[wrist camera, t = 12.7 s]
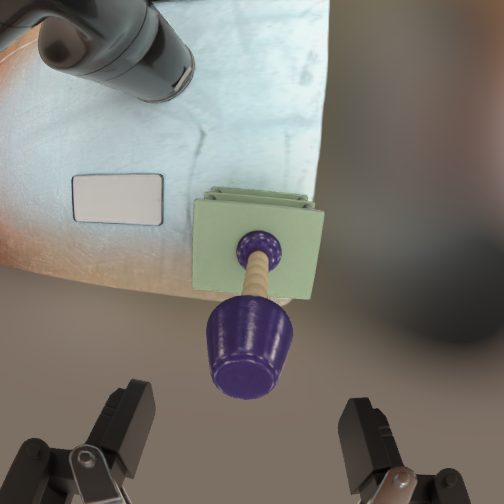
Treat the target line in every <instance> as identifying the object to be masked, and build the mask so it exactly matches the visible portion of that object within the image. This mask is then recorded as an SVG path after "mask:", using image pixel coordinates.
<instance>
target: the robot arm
mask: <svg viewBox="0 0 504 504" xmlns="http://www.w3.org/2000/svg"><path fill="white" fill-rule="evenodd" d="M42 21H43V22H42ZM41 22H42V25H41V28H40V32H39V38H38V50H39V54H40V56H41V58H42V60H43V61H44V63H45V64H46V65H48V66H49V67H50V68H52V69H54V70H57V71H60V72H63V73H67V74H70V75H73V76H76V77H79V78H83V79H86V80H89V81H92V82H95V83H98V84H101V85H104V86H107V87H110V88H113V89H115V90H118V91H121V92H124V93H126V94H129V95H131V96H134V97H136V98H138V99H140V100H142V101H145V102H149V103H161V102H165V101H168V100H170V99H172V98H174V97H176V96H177V95H179V94H180V93H181V92H182V91H183V90H184V89H185V88H186V87H187V86H188V84H189V83H190V81H191V79H192V76H193V73H194V68H195V62H194V58H193V55H192V53H191V51H190V50H189V49H188V47H187V46H186V45H185V44H184V43H183V42H182V40H181V39H180V38H179V36H178V35H177V34H176V33H175V31H174V30H173V29H172V27H171V26H170V25H169V24H168V22H167V21H166V20H165V19H164V17H163V16H162V15H161V14H160V12H159V11H158V10H157V9H156V7H155V6H154V5H153V4H152V3H151V2H150V0H0V53H1V52H2V51H4V50H5V49H6V48H7V47H9V46H10V45H11V44H12V43H14V42H15V41H16V40H18V39H19V38H20V37H21V36H23V35H24V34H25V33H27V32H28V31H30V30H31V29H32V28H34V27H35V26H37V25H38V24H40V23H41ZM154 416H155V402H154V397H153V392H152V387H151V383H150V382H146V381H142V380H136V379H131V380H130V382H129V384H128V386H127V388H126V389H122V388H118V389H117V390H116V391H115V392H113V393H112V394H111V395H110V396H109V398H108V400H107V402H106V404H105V406H104V408H103V410H102V412H101V414H100V415H99V417H98V419H97V422H96V423H95V425H94V427H93V429H92V432H91V433H90V436H89V437H88V439H87V441H86V442H85V443H84V444H83V445H79V446H77V447H75V448H74V449H73V450H65V449H56V448H49V446H48V445H47V444H46V443H45V442H44V441H43V440H41V439H38V438H31V439H28V440H27V441H25V442H24V443H23V444H22V446H21V447H20V449H19V451H18V454H17V455H16V457H15V459H14V461H13V463H12V465H11V467H10V470H9V472H8V474H7V476H6V478H5V480H4V482H3V485H2V487H1V489H0V504H71V501H72V498H73V496H74V494H78V495H80V496H81V499H82V502H83V504H132V503H131V501H130V499H129V497H128V495H127V493H126V491H125V489H124V487H123V482H124V479H125V477H127V478H131V479H133V478H134V476H135V473H136V470H137V467H138V464H139V461H140V458H141V455H142V452H143V449H144V446H145V443H146V440H147V437H148V434H149V431H150V428H151V425H152V422H153V420H154ZM338 434H339V439H340V443H341V448H342V453H343V457H344V462H345V467H346V472H347V477H348V482H349V488H350V493H351V495H352V494H359V493H360V497H361V500H359V502H358V503H357V504H471V503H470V499H469V496H468V493H467V490H466V487H465V484H464V481H463V479H462V476H461V475H460V473H459V472H458V471H457V470H455V469H451V468H446V469H443V470H441V471H440V472H439V473H438V474H437V475H418V474H415V473H414V471H412V470H411V469H410V468H408V467H405V466H404V465H403V462H402V459H401V457H400V454H399V451H398V448H397V445H396V442H395V440H394V437H393V436H392V432H391V429H390V428H389V423H388V421H387V418H386V416H385V415H384V414H383V413H382V412H381V411H380V410H379V409H378V408H376V409H373V408H372V405H371V402H370V400H369V398H367V397H366V398H365V397H364V398H350V399H349V400H348V402H347V404H346V407H345V409H344V411H343V413H342V415H341V418H340V420H339V423H338Z"/></svg>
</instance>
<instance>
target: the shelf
mask: <svg viewBox="0 0 504 504" xmlns="http://www.w3.org/2000/svg"><path fill="white" fill-rule="evenodd" d="M307 200H308V196H307V195H300V194H291V193H282V192H272V191H261V190H250V189H239V188H226V187H212V192H205V193H204V199H196V200H194V216H193V251H192V289H197V290H206V291H216V292H226V293H236V294H242V291H243V283H244V280H245V273H246V270H245V269H244V268H243V267H242V266H241V265H240V263H239V262H238V259H237V254H236V249H237V245H238V243H239V241H240V239H241V238H242V237H243V236H244V235H245V234H247V233H249V232H252V231H265V232H268V233H270V234H272V235H274V236H275V237H276V238H277V239H278V241H279V243H280V245H281V249H282V256H281V260H280V262H279V264H278V265H277V267H276V268H275V269H273V270H272V271H270V272H269V273H268V292H267V294H268V296H270V297H282V298H295V299H310V297H311V292H312V287H313V281H314V276H315V271H316V265H317V259H318V253H319V247H320V241H321V234H322V228H323V221H324V215H325V213H324V212H323V211H322V210H315V209H314V208H315V203H314V202H310V201H307Z"/></svg>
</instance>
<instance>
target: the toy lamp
mask: <svg viewBox="0 0 504 504" xmlns="http://www.w3.org/2000/svg"><path fill="white" fill-rule="evenodd" d="M236 254H237V259H238V262H239V263H240V265H241V266H242V267H243V268H244V269H245V270H246V273H245V280H244V283H243V291H242V294H241V296H235V297H232V298H230V299H227V300H225V301H224V302H222V303H221V304H219V305H218V306H217V307H216V308H215V309H214V310H213V312H212V313H211V315H210V317H209V319H208V322H207V329H206V336H207V348H208V357H209V367H210V373H211V377H212V380H213V382H214V384H215V385H216V387H217V388H218V389H219V390H220V391H222V392H223V393H224V394H227V395H228V396H230V397H233V398H237V399H245V400H248V399H256V398H260V397H262V396H264V395H266V394H268V393H269V392H270V391H271V390H272V389H273V388H274V387H275V385H276V384H277V382H278V380H279V377H280V374H281V372H282V369H283V366H284V364H285V360H286V357H287V355H288V352H289V349H290V346H291V342H292V337H293V328H292V324H291V321H290V319H289V317H288V315H287V314H286V312H285V311H284V310H283V309H282V308H281V307H280V306H279V305H278V304H276V303H275V302H273V301H271V300H269V299H268V294H267V292H268V273H269V272H270V271H272V270H273V269H275V268H276V267H277V265H278V264H279V262H280V260H281V256H282V249H281V245H280V243H279V241H278V239H277V238H276V237H275V236H274V235H272V234H270V233H268V232H265V231H252V232H249V233H247V234H245V235H244V236H243V237H242V238H241V239H240V241H239V243H238V245H237V249H236Z"/></svg>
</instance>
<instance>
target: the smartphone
mask: <svg viewBox="0 0 504 504" xmlns="http://www.w3.org/2000/svg"><path fill="white" fill-rule="evenodd" d="M72 206H73V218H74V220H75V221H76V222H92V223H113V224H132V225H150V226H160V225H161V224H162V223H163V176H162V175H161V174H101V175H76V176H73V177H72Z"/></svg>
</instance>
